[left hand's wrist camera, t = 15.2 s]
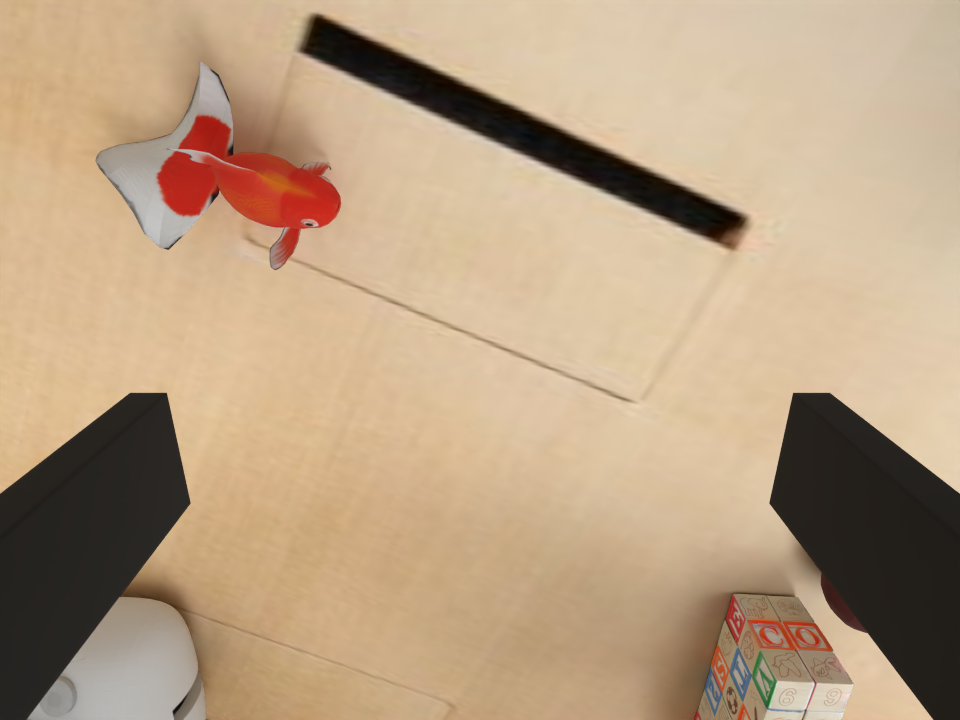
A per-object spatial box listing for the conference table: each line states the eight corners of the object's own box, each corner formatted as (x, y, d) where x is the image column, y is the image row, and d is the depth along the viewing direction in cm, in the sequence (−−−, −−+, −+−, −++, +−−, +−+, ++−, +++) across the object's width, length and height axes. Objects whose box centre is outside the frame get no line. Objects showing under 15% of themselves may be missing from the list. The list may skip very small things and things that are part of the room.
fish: (299, 337, 40) (203, 301, 30) (143, 222, 43) (13, 157, 34) (391, 205, 40) (325, 126, 30) (227, 102, 44) (122, 2, 34)
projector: (53, 503, 50) (-105, 645, 37) (276, 641, 56) (211, 808, 42) (-59, 648, 56) (-231, 816, 43) (153, 759, 62) (61, 938, 48)
